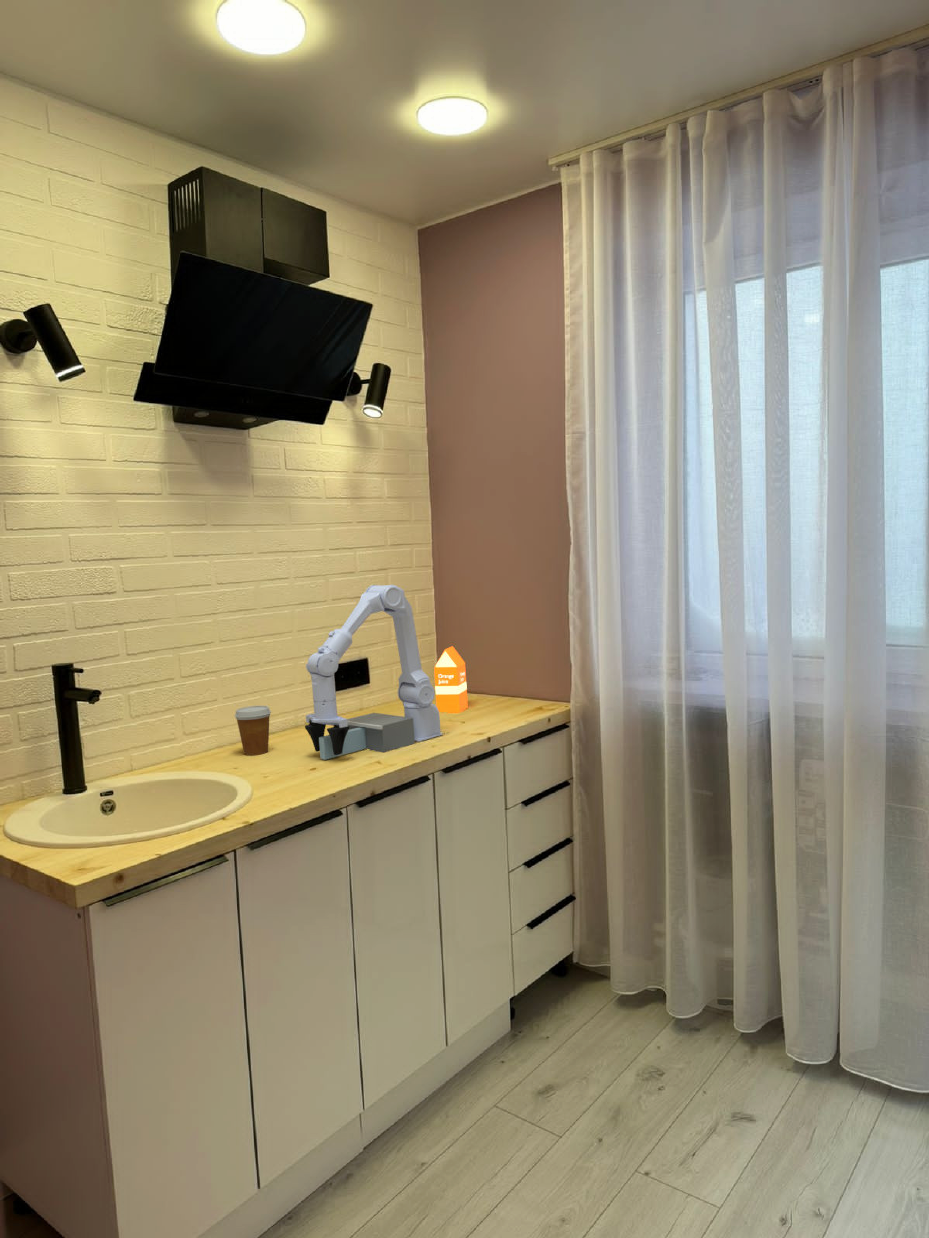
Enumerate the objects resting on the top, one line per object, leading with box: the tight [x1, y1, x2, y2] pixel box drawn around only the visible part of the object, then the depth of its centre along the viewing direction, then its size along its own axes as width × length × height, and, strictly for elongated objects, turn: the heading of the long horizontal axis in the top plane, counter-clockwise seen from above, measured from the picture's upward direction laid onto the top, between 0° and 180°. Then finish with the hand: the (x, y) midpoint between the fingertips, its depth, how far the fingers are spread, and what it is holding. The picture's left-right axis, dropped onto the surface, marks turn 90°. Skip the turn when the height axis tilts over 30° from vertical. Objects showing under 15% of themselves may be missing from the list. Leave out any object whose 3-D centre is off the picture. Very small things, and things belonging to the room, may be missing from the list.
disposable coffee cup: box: [234, 705, 272, 756], centre depth 234 cm, size 10×10×12 cm
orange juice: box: [433, 645, 469, 714], centre depth 276 cm, size 8×9×20 cm
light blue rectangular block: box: [319, 727, 367, 761], centre depth 226 cm, size 14×2×6 cm, turn 137°
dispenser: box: [346, 712, 416, 753], centre depth 234 cm, size 12×16×7 cm
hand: (328, 752), depth 222 cm, fingers open, 7 cm apart
